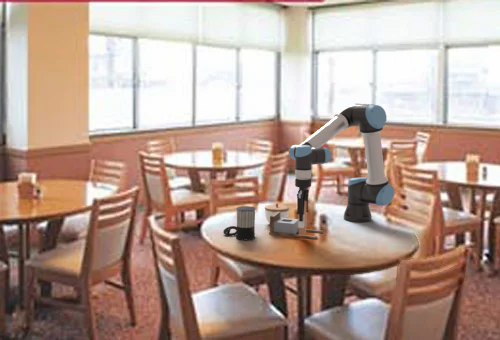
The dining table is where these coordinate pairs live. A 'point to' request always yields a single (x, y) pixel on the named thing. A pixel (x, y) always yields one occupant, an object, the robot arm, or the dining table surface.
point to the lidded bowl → (276, 208)
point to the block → (286, 225)
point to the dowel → (303, 230)
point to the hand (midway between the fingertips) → (302, 226)
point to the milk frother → (243, 224)
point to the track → (277, 216)
